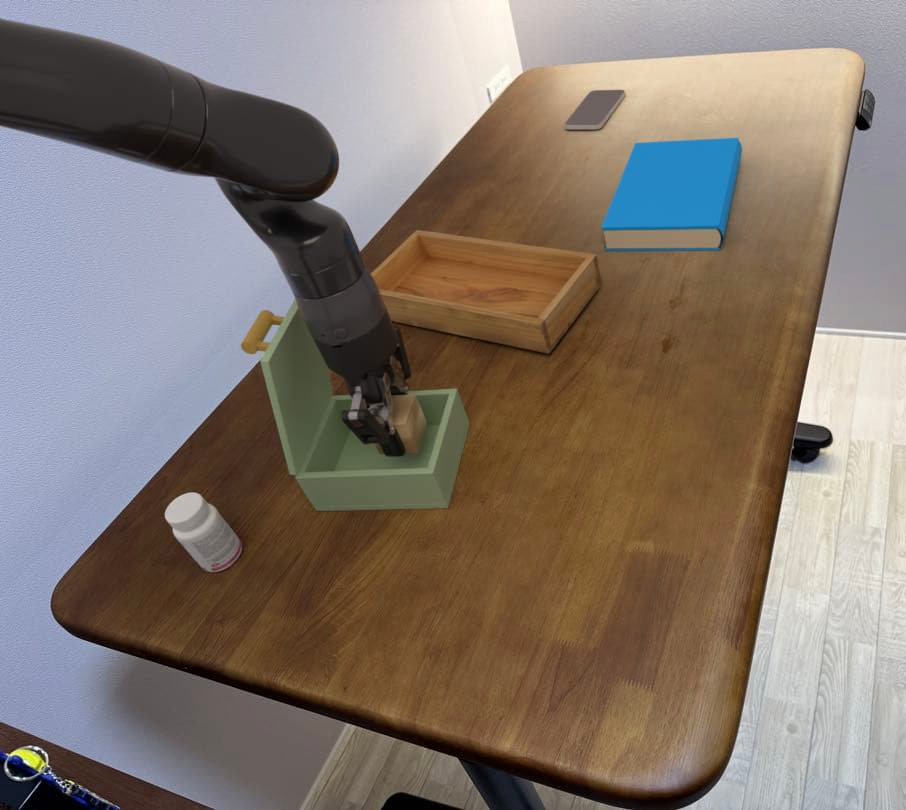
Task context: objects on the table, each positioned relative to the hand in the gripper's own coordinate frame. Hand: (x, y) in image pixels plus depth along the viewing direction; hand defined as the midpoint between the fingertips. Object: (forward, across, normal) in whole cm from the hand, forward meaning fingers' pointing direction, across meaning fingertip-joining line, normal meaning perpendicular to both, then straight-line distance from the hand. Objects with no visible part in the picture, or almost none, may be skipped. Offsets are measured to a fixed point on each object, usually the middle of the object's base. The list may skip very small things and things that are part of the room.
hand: (402, 436), depth 86 cm
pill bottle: (+5, +12, -20) cm, 23 cm away
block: (0, 0, 0) cm, 0 cm away
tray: (+5, -30, +2) cm, 30 cm away
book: (+5, -51, +30) cm, 59 cm away
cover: (-9, 0, -8) cm, 12 cm away
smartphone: (+5, -87, +15) cm, 88 cm away
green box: (+5, 0, -2) cm, 6 cm away
